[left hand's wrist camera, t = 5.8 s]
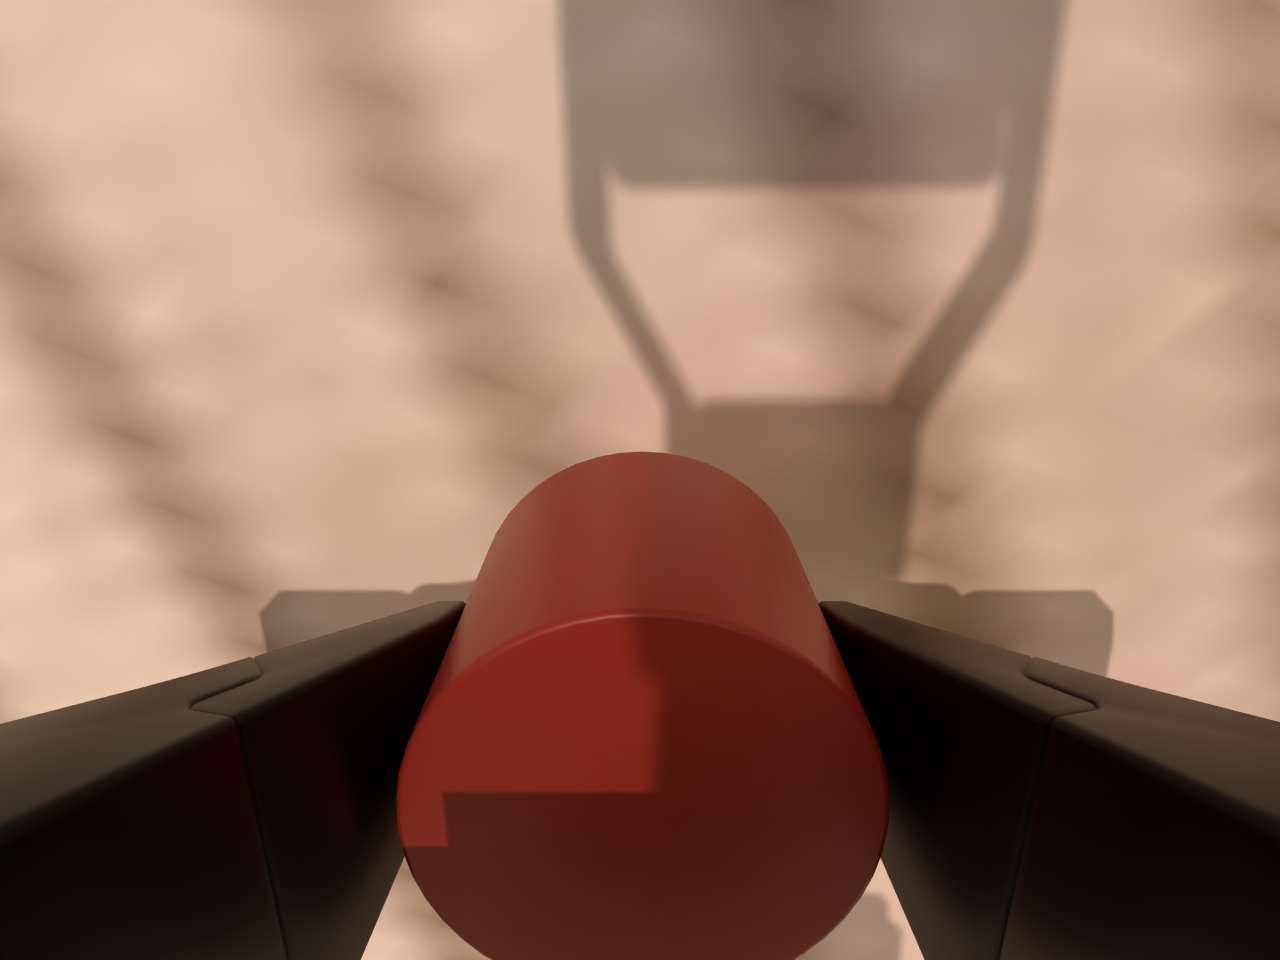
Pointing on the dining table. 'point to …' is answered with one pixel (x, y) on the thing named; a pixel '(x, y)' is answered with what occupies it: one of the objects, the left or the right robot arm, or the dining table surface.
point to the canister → (642, 733)
